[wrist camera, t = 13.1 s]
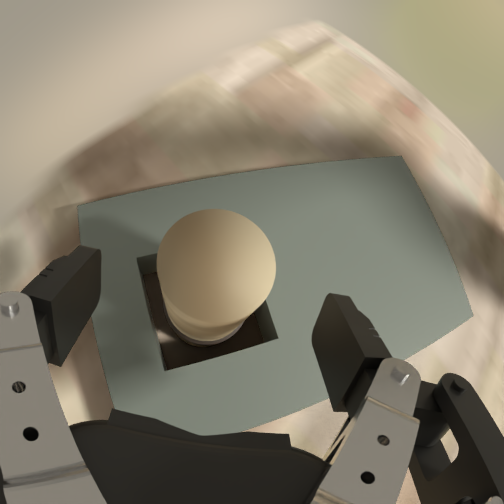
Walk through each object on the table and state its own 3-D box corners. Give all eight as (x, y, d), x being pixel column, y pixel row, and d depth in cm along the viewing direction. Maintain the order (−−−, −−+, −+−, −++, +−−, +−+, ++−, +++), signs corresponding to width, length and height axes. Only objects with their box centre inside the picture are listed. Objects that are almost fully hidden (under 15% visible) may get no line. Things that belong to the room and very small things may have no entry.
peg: (226, 272, 20) (257, 196, 12) (247, 338, 19) (297, 306, 11) (158, 288, 19) (141, 218, 11) (177, 357, 17) (170, 342, 9)
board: (383, 175, 26) (401, 155, 23) (447, 324, 22) (473, 315, 19) (89, 228, 19) (77, 205, 16) (140, 446, 15) (132, 458, 12)
